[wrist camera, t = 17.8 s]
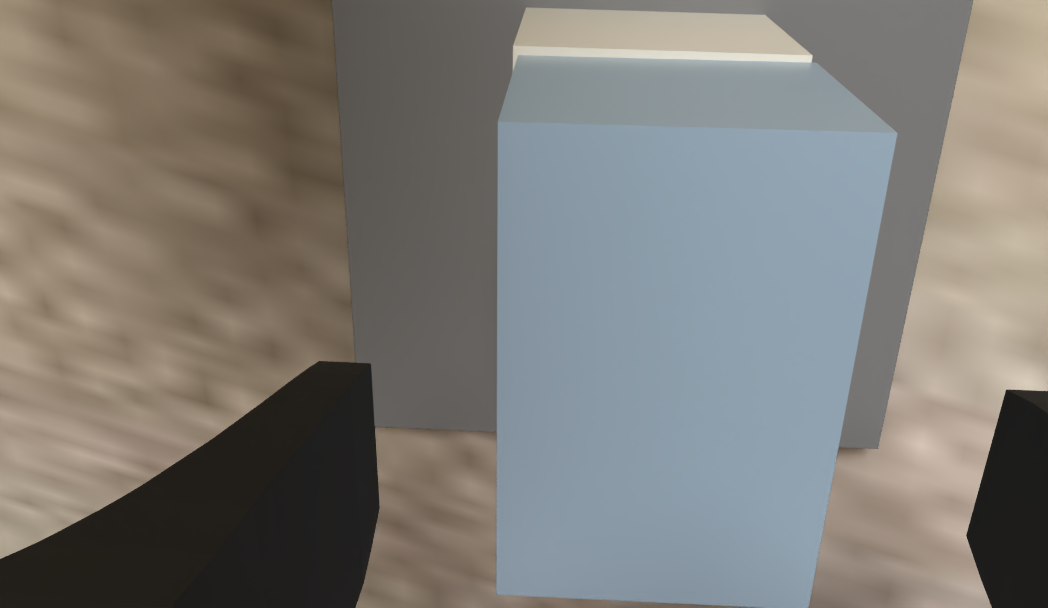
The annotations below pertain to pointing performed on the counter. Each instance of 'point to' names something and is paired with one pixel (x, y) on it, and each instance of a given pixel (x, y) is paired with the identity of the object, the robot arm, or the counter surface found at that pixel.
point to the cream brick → (654, 36)
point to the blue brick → (677, 323)
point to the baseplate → (472, 180)
